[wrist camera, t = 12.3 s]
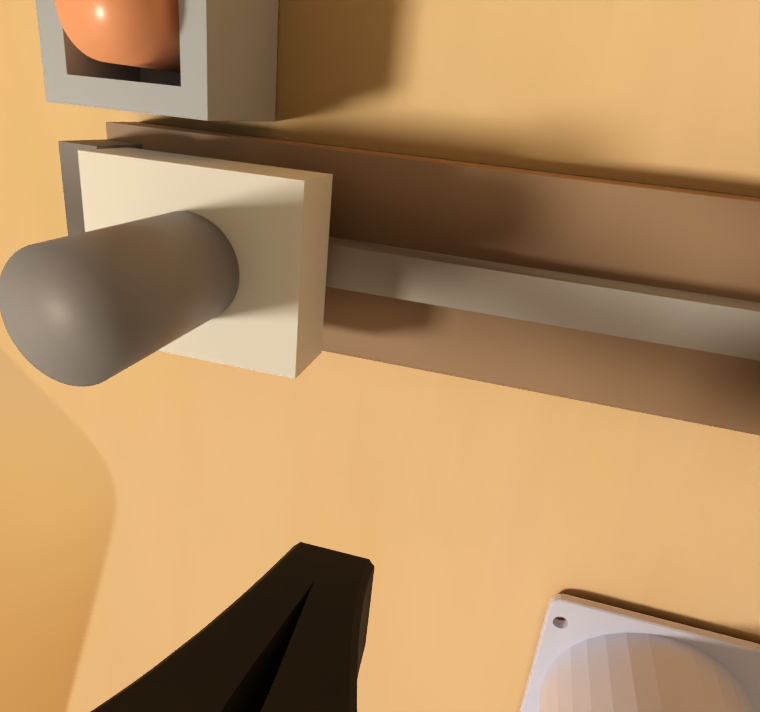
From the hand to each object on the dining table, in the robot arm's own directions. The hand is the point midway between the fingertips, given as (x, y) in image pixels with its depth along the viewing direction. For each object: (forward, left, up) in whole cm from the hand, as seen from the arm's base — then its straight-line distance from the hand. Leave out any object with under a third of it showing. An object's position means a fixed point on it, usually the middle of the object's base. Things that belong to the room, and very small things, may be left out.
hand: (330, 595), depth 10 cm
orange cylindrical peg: (+9, +8, -9) cm, 16 cm away
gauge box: (+9, +8, -10) cm, 16 cm away
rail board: (+4, 0, -10) cm, 11 cm away
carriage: (+4, +6, -8) cm, 10 cm away
